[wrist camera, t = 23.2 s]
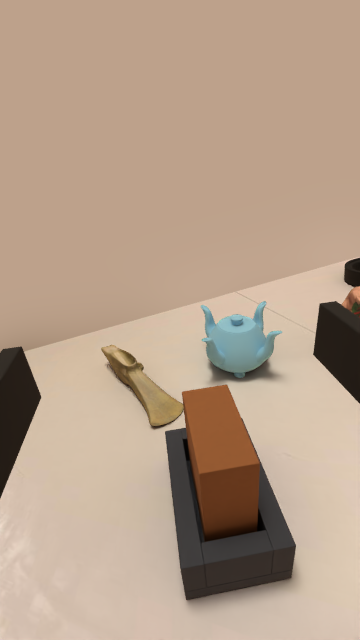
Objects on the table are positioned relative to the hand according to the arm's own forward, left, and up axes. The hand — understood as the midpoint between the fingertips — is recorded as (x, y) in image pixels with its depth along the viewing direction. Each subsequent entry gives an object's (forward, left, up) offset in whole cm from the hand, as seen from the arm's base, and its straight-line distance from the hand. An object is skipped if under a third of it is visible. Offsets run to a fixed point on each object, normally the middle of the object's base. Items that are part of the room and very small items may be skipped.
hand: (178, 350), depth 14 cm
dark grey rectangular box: (+9, +3, -28) cm, 30 cm away
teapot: (+36, +11, -28) cm, 47 cm away
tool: (+22, +25, -28) cm, 44 cm away
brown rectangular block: (+9, +3, -26) cm, 28 cm away
